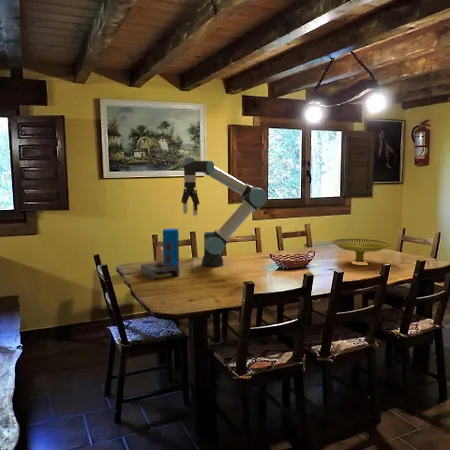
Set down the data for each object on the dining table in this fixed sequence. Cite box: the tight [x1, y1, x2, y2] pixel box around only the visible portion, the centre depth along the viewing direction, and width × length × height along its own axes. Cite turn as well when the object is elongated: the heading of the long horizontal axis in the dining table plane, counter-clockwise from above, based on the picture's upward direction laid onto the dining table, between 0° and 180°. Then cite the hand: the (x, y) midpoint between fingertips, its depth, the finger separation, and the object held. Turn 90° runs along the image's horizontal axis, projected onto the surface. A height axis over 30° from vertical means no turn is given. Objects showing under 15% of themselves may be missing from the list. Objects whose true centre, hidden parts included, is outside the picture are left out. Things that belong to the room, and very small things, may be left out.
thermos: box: [162, 228, 180, 267], centre depth 304 cm, size 11×11×25 cm
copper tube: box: [155, 245, 163, 274], centre depth 277 cm, size 4×4×18 cm
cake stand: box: [330, 237, 391, 262], centre depth 313 cm, size 40×40×15 cm
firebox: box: [140, 262, 180, 281], centre depth 278 cm, size 18×18×6 cm
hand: (190, 214), depth 290 cm, fingers open, 13 cm apart
